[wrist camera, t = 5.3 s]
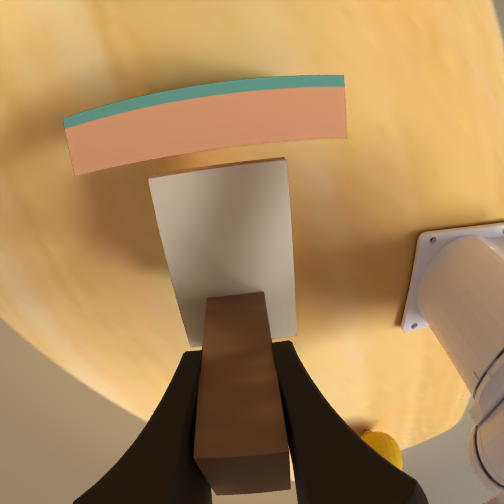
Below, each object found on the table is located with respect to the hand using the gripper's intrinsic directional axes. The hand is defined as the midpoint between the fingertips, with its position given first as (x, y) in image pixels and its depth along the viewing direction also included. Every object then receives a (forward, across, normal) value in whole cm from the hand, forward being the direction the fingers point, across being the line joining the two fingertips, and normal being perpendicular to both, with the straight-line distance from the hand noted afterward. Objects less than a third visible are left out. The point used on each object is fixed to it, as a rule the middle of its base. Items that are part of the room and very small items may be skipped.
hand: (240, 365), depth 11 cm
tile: (+8, 0, -8) cm, 11 cm away
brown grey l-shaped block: (+4, 0, -2) cm, 4 cm away
